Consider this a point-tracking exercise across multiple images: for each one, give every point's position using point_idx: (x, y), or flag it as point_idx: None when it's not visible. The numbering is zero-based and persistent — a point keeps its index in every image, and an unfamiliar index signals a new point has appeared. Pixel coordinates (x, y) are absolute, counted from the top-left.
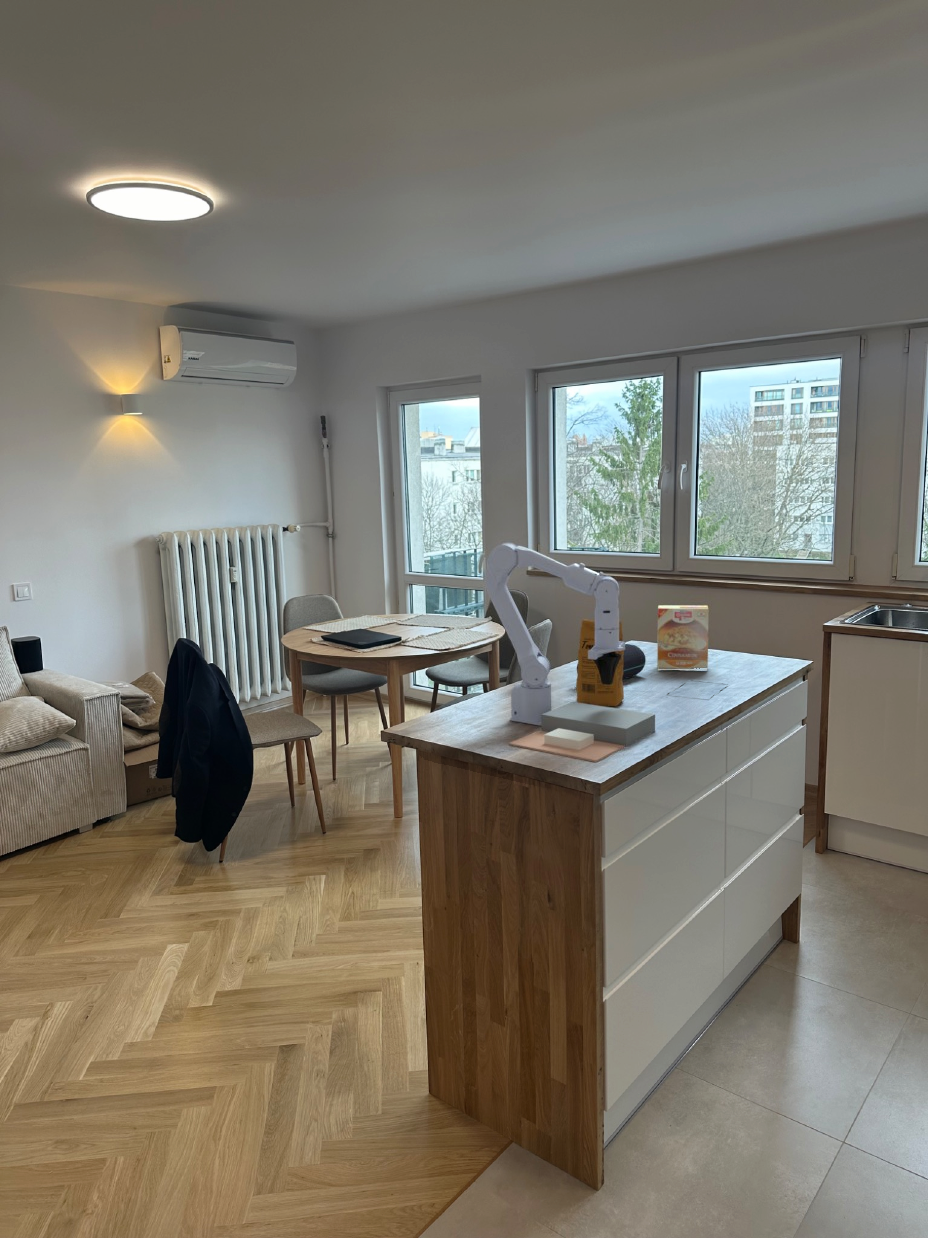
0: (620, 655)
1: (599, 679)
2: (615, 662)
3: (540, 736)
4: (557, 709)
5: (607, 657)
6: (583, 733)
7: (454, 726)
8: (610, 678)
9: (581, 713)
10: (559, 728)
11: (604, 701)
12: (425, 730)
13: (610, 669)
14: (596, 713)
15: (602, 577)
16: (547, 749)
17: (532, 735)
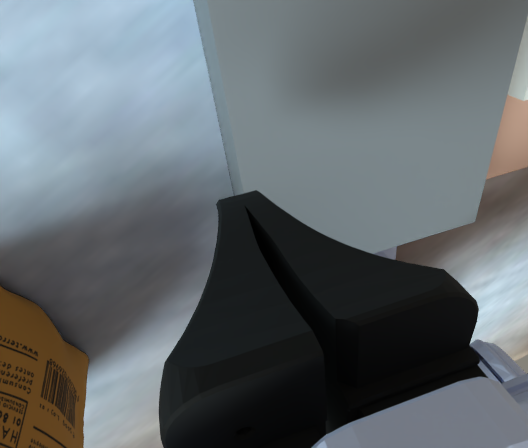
0: (225, 376)
1: (14, 414)
2: (285, 296)
3: (510, 137)
4: (392, 238)
5: (426, 361)
6: None
7: (475, 329)
8: (277, 207)
9: (404, 133)
10: (525, 96)
11: (17, 308)
12: (518, 331)
13: (337, 241)
14: (372, 81)
15: None
16: None
17: (507, 161)
